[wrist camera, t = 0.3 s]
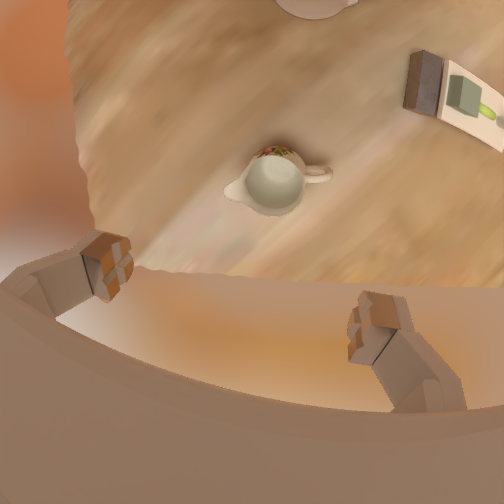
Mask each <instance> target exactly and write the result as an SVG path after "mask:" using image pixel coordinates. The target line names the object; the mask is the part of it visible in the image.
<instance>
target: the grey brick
mask: <svg viewBox="0 0 504 504" xmlns="http://www.w3.org/2000/svg"><path fill="white" fill-rule="evenodd" d="M441 69H442V58H440V57H438V56H436V55H434V54H431V53H429V52H427V51H425V50H422V51H420V52H417V53H414V54H412V55H410V63H409V71H408V79H407V85H406V92H405V98H404V104H403V108H405V109H408V110H410V111H413V112H416V113H418V114H422V115H427V116H433V117H434V116H435V110H436V105H437V98H438V92H439V85H440V77H441Z"/></svg>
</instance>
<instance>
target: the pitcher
mask: <svg viewBox="0 0 504 504" xmlns="http://www.w3.org/2000/svg"><path fill="white" fill-rule="evenodd" d="M307 172H317V173H324V174H321V175H308V174H307ZM332 177H333V171H332V170H331V169H330V168H328V167H324V166H305V164H304V161H303V160H302V158H301V157H300V156H299V155H298V154H297V153H296V152H294V151H293V150H291V149H289V148H286V147H282V146H272V147H268V148H265V149H263V150H261V151H259V152H258V153H257V154H256V155H254V157H253V158H252V159H251V160H250V162H249V164H248V166H247V167H246V168H245V170H244V171H243V173H242V174H241V176H240V177H239V178H238V179H236V180H234V181H232V182H231V183H229V184H228V185H227V186H226V187H225V188H224V190H223V194H224V196H225V197H226V198H227V199H229V200H231V201H234V202H237V203H242V204H244V205H246V206H248V207H249V208H250V209H252V210H253V211H255V212H256V213H258V214H261V215H264V216H268V217H280V216H284V215H287V214H289V213H291V212H293V211H294V210H295V209H296V208H297V207H298V206H299V205H300V204H301V202H302V200H303V198H304V195H305V189H306V186H307V183H321V182H326V181H329V180H331V179H332Z"/></svg>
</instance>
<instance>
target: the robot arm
mask: <svg viewBox="0 0 504 504" xmlns="http://www.w3.org/2000/svg"><path fill="white" fill-rule="evenodd" d="M275 1H276V2H277V3H278V5H279V6H280V7H281V8H282V9H284V10H285V11H287V12H288V13H290V14H292V15H294V16H297V17H300V18H305V19H324V18H329V17H331V16H334V15H336V14H337V13H339V12H340V11H341V10H342V9H344V8H345V7H348V6H352V5H355V4H357V3H358V1H359V0H275ZM130 250H131V243H130V240H129V239H128V238H127V237H123V236H120V235H116V234H112V233H108V232H104V231H100V230H93V231H92V232H91V233H90V234H88V235H87V236H86V237H85V238H83V239H82V240H81V241H80V242H79V243H77V244H76V245H75V246H74V247H73V248H71V249H70V250H64V251H61V252H58V253H55V254H53V255H50V256H47V257H44V258H41V259H38V260H35V261H33V262H30V263H27V264H25V265H22V266H19V267H17V268H16V269H15V270H14V271H13V272H12V273H11V274H10V275H9V276H8V277H7V278H5V279H4V280H3V281H2V282H1V283H0V504H504V405H499V406H493V407H487V408H480V409H471V410H467V406H466V402H465V397H464V392H463V388H462V384H461V380H460V378H459V377H458V376H457V375H456V374H455V372H454V371H453V370H452V369H451V368H450V367H449V365H448V364H447V363H446V362H445V361H444V360H443V359H442V357H441V356H440V355H439V354H438V353H437V352H436V351H435V350H434V348H433V347H432V346H431V345H430V344H429V343H428V342H427V341H426V340H425V339H424V338H423V336H422V335H421V334H420V333H418V332H415V329H414V326H413V322H412V319H411V315H410V312H409V309H408V305H407V302H406V299H405V298H404V297H400V296H394V295H385V294H380V293H375V292H370V291H365V290H363V291H362V292H361V294H360V296H359V298H358V305H359V306H357V307H356V308H354V309H353V311H352V313H351V315H350V318H349V322H348V329H347V335H348V337H349V338H350V340H351V342H350V343H349V345H348V359H349V360H348V362H350V363H356V364H362V365H369V366H372V369H373V371H374V372H375V374H376V376H377V378H378V379H379V381H380V383H381V384H382V386H383V388H384V390H385V391H386V393H387V395H388V397H389V398H390V400H391V402H392V404H393V406H394V407H395V408H394V409H393V410H392V411H391V412H390V413H385V412H383V413H382V412H366V411H352V410H342V409H332V408H323V407H316V406H310V405H303V404H296V403H290V402H285V401H280V400H274V399H269V398H264V397H260V396H255V395H250V394H246V393H242V392H238V391H234V390H230V389H226V388H222V387H219V386H215V385H211V384H208V383H205V382H201V381H198V380H195V379H192V378H188V377H185V376H182V375H179V374H176V373H173V372H170V371H167V370H165V369H162V368H159V367H156V366H154V365H151V364H148V363H146V362H143V361H141V360H138V359H136V358H133V357H130V356H128V355H126V354H124V353H121V352H119V351H116V350H114V349H112V348H110V347H108V346H105V345H103V344H101V343H99V342H97V341H95V340H92V339H90V338H88V337H86V336H84V335H82V334H80V333H78V332H76V331H74V330H72V329H71V328H69V327H67V326H65V325H63V324H61V323H59V322H57V321H56V319H55V318H56V317H57V316H59V315H61V314H63V313H64V312H66V311H68V310H69V309H71V308H73V307H75V306H77V305H78V304H80V303H82V302H84V301H86V300H87V299H89V298H91V297H93V295H94V296H97V297H100V298H103V299H106V300H109V301H111V300H112V299H113V298H114V297H115V296H116V294H117V293H118V292H119V291H120V285H121V284H124V283H126V282H127V281H128V280H129V279H130V277H131V275H132V272H133V267H134V262H133V258H132V256H131V255H130V253H129V251H130Z"/></svg>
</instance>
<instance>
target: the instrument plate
mask: <svg viewBox="0 0 504 504" xmlns="http://www.w3.org/2000/svg"><path fill="white" fill-rule="evenodd" d="M436 118H438V119H440V120H442V121H444V122H447V123H449V124H451V125H453V126H455V127H457V128H459V129H461V130H463V131H464V132H466V133H468V134H470V135H472V136H474V137H476V138H477V139H479V140H481V141H483V142H484V143H486V144H488V145H489V146H491V147H493V148H494V149H496V150H497V151H499V152H503V148H504V97H503V96H502V95H501V94H499V93H498V92H497V91H495V90H494V89H493V88H491V87H490V86H489V85H487V84H486V83H485V82H483V81H482V80H480V79H479V78H477V77H476V76H475V75H473V74H472V73H470V72H469V71H467V70H465V69H464V68H462V67H461V66H459V65H457V64H456V63H454V62H452V61H451V60H444V70H443V79H442V86H441V93H440V100H439V106H438V111H437V117H436Z"/></svg>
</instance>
